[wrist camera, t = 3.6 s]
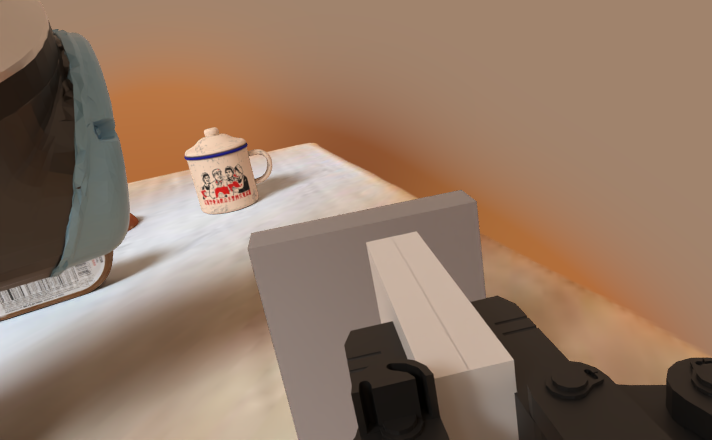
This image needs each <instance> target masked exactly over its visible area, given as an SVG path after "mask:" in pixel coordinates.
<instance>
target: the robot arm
mask: <svg viewBox="0 0 712 440" xmlns="http://www.w3.org/2000/svg"><path fill="white" fill-rule="evenodd" d="M114 129H115V122H114V118H113V112H112V106H111V101H110V97H109V93H108V90H107V86H106V83H105V80H104V77H103V73H102V70H101V68H100V65H99V62H98V59H97V57H96V55H95V53H94V51H93V49H92V47H91V45H90V43H89V42H88V41H87V40H86V39H85V38H84V37H83V36H82V35H80V34H77V33H67V32H66V31H64V30H61V31H58V29H55V30H52V29H51V26H50V23H49V20H48V17H47V14H46V12H45V10H44V8H43V5H42V4H41V2H40V1H39V0H0V292H1V291H5V290H8V289H11V288H15V287H18V286H21V285H25V284H28V283H31V282H35V281H38V280H41V279H45V278H52V277H55V276H58V275H60V274H62V273H63V272H64V271H65V270H66V269H69V268H71V267H74V266H77V265H79V264H82V263H84V262H87V261H90V260H92V259H95V258H98V257H100V256H103V255H106V254H108V253H110V252H111V251H113V250H114V249H116V248H117V247H118V246H119V245H120V244H121V243H122V241H123V240H124V238H125V236H126V234H127V231H128V227H129V221H130V204H129V193H128V184H127V177H126V172H125V165H124V159H123V154H122V150H121V145H120V140H119V138H118V136H117V133H116V132H115V130H114ZM366 245H367V251H368V256H369V261H370V267H371V272H372V277H373V283H374V288H375V293H376V299H377V304H378V309H379V315H380V320H381V324H378V325H374V326H369V327H365V328H360V329H356V330H352V331H350V333H349V335H348V338H347V340H346V342H345V344H344V347H345V352H346V358H347V363H348V368H349V373H350V379H351V384H352V389H351V396H352V401H353V405H354V410H355V415H356V419H357V424H358V429H357V433H356V436H355V438H354V439H353V440H712V358H689V359H685V360H682V361H678V362H676V363H675V364H674V365H672V366H671V367H670V368H669V369H668V373H667V379H666V385H618V384H615V383H614V382H613V381H612V380H611V379H610V378H609V377H608V376H607V375H606V374H604V373H603V372H601V371H600V370H598V369H597V368H595V367H592V366H589V365H587V364H584V363H581V362H572V361H569V360H568V359H567V358H566V357H565V356H564V355H563V354H562V353H561V352H560V351H559V350H558V348H557V347H556V346H555V345H554V344H553V343H552V342H551V341H550V340H549V339H548V338H547V337H546V336H545V335H544V334H543V333H542V331H541V330H540V329H539V328H536V325H535V324H534V323H533V322H532V321H531V320H530V319H529V318H527V316H526V314H525V313H524V312H523V311H522V310H521V309H520V308H519V307H518V306H517V305H516V304H515V303H512V302H510V301H508V300H506V299H504V298H501V297H499V296H494V297H490V298H485V299H481V300H476V301H472V302H470V301H469V300H468V299H467V297H466V296H465V295H464V293H463V292H462V291H461V289H460V288H459V287H458V285H457V284H456V283H455V281H454V280H453V279H452V277H451V276H450V275H449V274H448V272H447V271H446V270H445V268H444V267H443V266H442V264H441V263H440V262H439V260H438V259H437V258H436V256H435V255H434V254H433V252H432V251H431V250H430V248H429V247H428V246H427V244H426V243H425V242H424V240H423V239H422V238H421V236H420V235H419V234H418V233H417V231H416V232H411V233H407V234H402V235H397V236H393V237H388V238H384V239H379V240H374V241H370V242H366Z"/></svg>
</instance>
